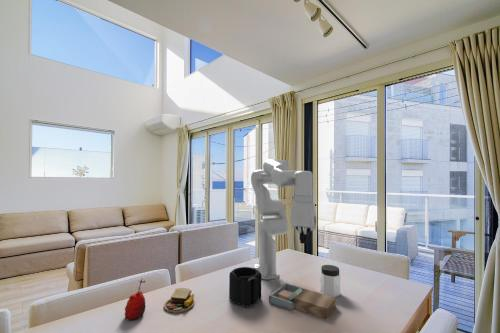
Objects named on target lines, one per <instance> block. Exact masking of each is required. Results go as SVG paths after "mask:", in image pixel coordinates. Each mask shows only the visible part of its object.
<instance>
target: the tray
mask: <svg viewBox="0 0 500 333" xmlns="http://www.w3.org/2000/svg"><path fill="white" fill-rule="evenodd" d="M299 288H301V289H302V291H303V290H304V289H306V288H305V287H302V286H297V285H295V284H291V283H287V282H285V283H284V284H282V285H281V286H280V287H278V288H277V289H276V290H274V291H273V292H272V293H270V294H269V295H268V303H270V304H272V305H274V306H277V307H280V308H284V309H286V310H289V311H293V310H294V309H295V308H294V298H295V297H294V298H293V299H291V300H288V301H287V300H284V299H281V298H278V293H280V292H281V291H282V290H286V291H289V292H292V293H293V292H295V291H296V290H298V289H299Z"/></svg>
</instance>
